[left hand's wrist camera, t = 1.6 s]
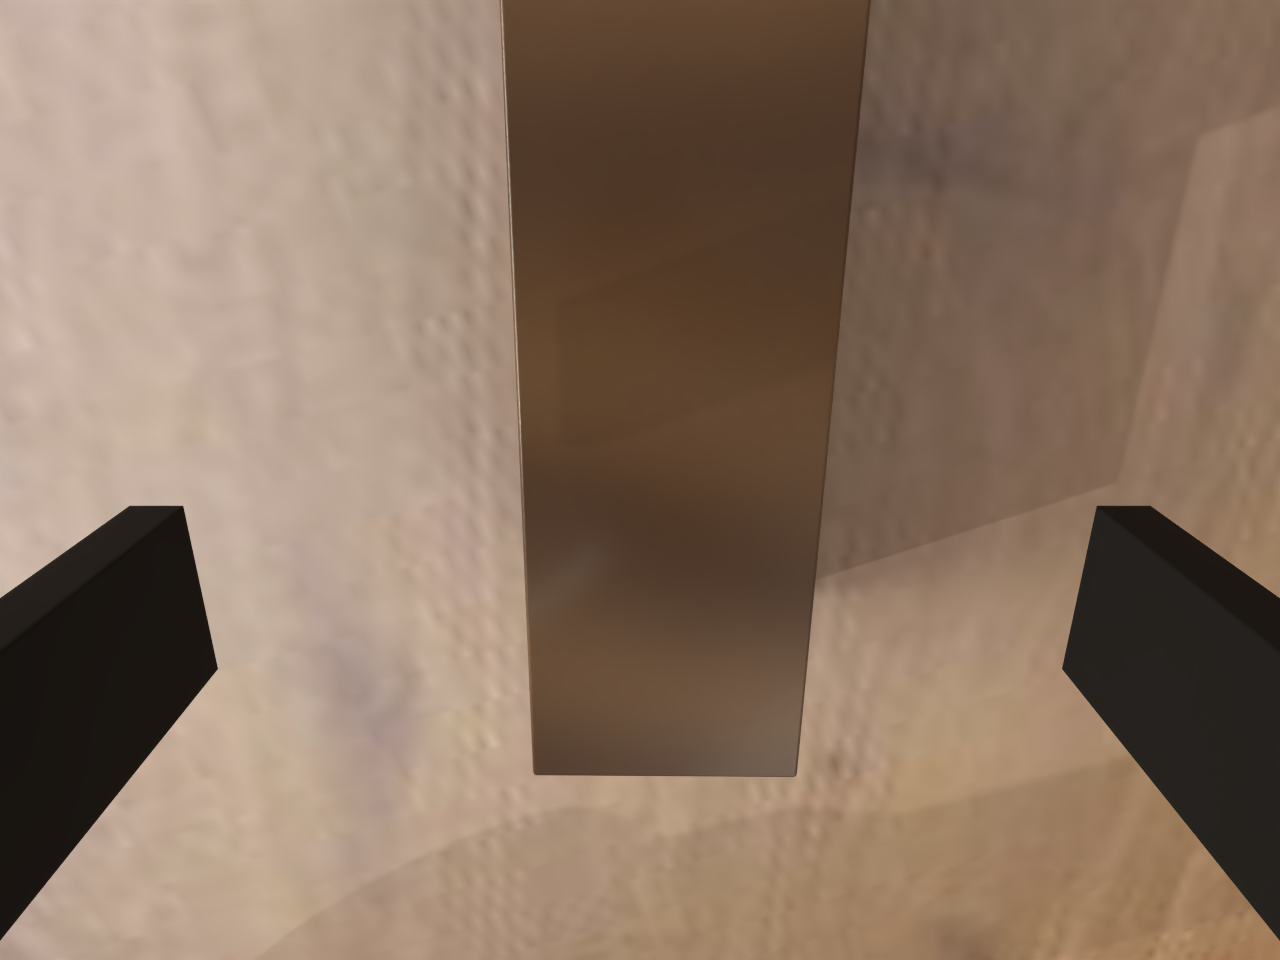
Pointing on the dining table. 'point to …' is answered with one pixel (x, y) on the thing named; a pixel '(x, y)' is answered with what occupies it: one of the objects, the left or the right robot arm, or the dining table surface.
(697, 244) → the bar
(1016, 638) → the dining table surface
